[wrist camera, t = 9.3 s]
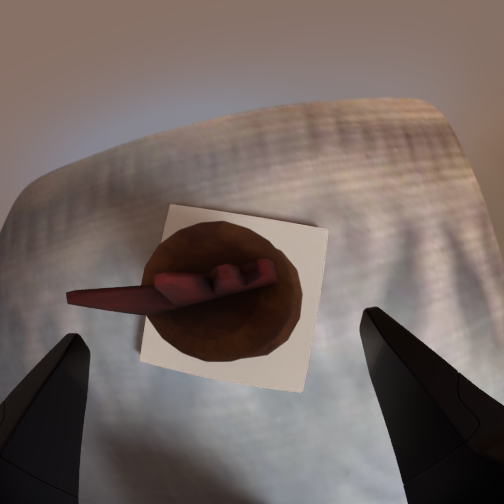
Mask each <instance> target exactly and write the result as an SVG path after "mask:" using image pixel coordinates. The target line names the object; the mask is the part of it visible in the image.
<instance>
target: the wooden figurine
mask: <svg viewBox="0 0 504 504" xmlns="http://www.w3.org/2000/svg"><path fill="white" fill-rule="evenodd" d="M66 297H67V303H68V304H72V305H77V306H83V307H89V308H95V309H102V310H108V311H115V312H122V313H129V314H137V315H147V318H148V319H149V321H150V322H151V324H152V325H153V326H154V328H155V329H156V331H157V332H158V333H159V335H160V336H161V338H162V339H164V340H165V341H166V342H168V343H169V344H170V345H172V346H173V347H174V348H176V349H177V350H178V351H180V352H181V353H183V354H186V355H188V356H191V357H194V358H197V359H199V360H202V361H205V362H232V361H235V360H239V359H246V358H252V357H259V356H266V355H269V354H270V353H271V352H273V351H274V350H276V349H277V348H278V347H280V346H281V345H282V344H284V343H285V342H286V341H288V339H289V337H290V336H291V334H292V332H293V330H294V329H295V327H296V325H297V323H298V321H299V320H300V315H301V306H302V297H303V293H302V288H301V284H300V279H299V275H298V271H297V269H296V267H295V266H294V265H293V264H292V263H291V261H290V260H289V259H288V258H287V257H286V255H285V254H284V253H283V252H282V251H281V250H279V249H277V248H275V247H274V245H273V244H272V243H271V242H270V241H269V240H267V239H266V238H264V237H262V236H261V235H259V234H257V233H256V232H254V231H253V230H251V229H249V228H246V227H243V226H240V225H236V224H233V223H230V222H226V221H213V222H200V223H197V224H195V225H192V226H189V227H186V228H183V229H180V230H178V231H177V232H175V233H174V234H172V235H171V236H170V237H168V238H167V239H166V240H164V241H163V242H162V243H161V244H159V245H158V247H157V249H156V250H155V252H154V253H153V255H152V256H151V258H150V260H149V261H148V263H147V264H146V266H145V269H144V274H143V279H142V283H141V286H128V287H115V288H100V289H86V290H75V291H70V292H67V293H66Z"/></svg>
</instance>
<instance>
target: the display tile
mask: <svg viewBox="0 0 504 504" xmlns="http://www.w3.org/2000/svg"><path fill="white" fill-rule="evenodd" d="M213 221H226V222H230V223H233V224H236V225H240V226H243V227H246V228H249V229H251V230H253V231H254V232H256V233H257V234H259V235H261V236H262V237H264V238H266V239H267V240H269V241H270V242H271V243H272V244H273V245H274V247H275V248H277V249H279V250H281V251H282V252H283V253H284V254H285V255H286V257H287V258H288V259H289V260H290V261H291V263H292V264H293V265H294V266H295V267H296V269H297V271H298V275H299V279H300V284H301V288H302V293H303V297H302V306H301V315H300V320H299V321H298V323H297V325H296V327H295V329H294V330H293V332H292V334H291V336H290V337H289V339H288V341H286V342H285V343H284V344H282V345H281V346H280V347H278V348H277V349H276V350H274V351H273V352H271V353H270V354H269V355H266V356H259V357H252V358H246V359H239V360H235V361H232V362H205V361H202V360H199V359H197V358H194V357H191V356H188V355H186V354H183V353H181V352H180V351H178V350H177V349H176V348H174V347H173V346H172V345H170V344H169V343H168V342H166V341H165V340H164V339H162V338H161V336H160V335H159V333H158V332H157V331H156V329H155V328H154V326H153V325H152V324H151V322H150V321H149V319H148V318H147V315H146V321H145V328H144V334H143V341H142V347H141V354H140V361H142V362H145V363H149V364H152V365H156V366H160V367H164V368H168V369H172V370H176V371H180V372H184V373H188V374H193V375H197V376H202V377H206V378H211V379H216V380H221V381H226V382H232V383H237V384H243V385H249V386H255V387H262V388H269V389H276V390H283V391H292V392H300V393H303V388H304V384H305V379H306V374H307V369H308V364H309V358H310V353H311V348H312V342H313V337H314V331H315V325H316V319H317V313H318V306H319V300H320V293H321V286H322V279H323V272H324V265H325V257H326V249H327V240H328V232H329V229H323V228H318V227H312V226H307V225H301V224H295V223H290V222H284V221H278V220H272V219H266V218H260V217H254V216H248V215H241V214H235V213H229V212H222V211H216V210H209V209H202V208H195V207H188V206H181V205H174V204H170V207H169V211H168V215H167V219H166V223H165V227H164V231H163V236H162V240H161V243H162V242H163V241H164V240H166V239H167V238H168V237H170V236H171V235H172V234H174V233H175V232H177V231H178V230H180V229H183V228H186V227H189V226H192V225H195V224H197V223H200V222H213Z"/></svg>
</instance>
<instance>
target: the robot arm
mask: <svg viewBox="0 0 504 504" xmlns="http://www.w3.org/2000/svg"><path fill="white" fill-rule="evenodd" d="M360 336H361V340H362V344H363V348H364V353H365V357H366V361H367V366H368V370H369V374H370V378H371V381H372V384H373V387H374V390H375V393H376V395H377V398H378V401H379V404H380V408H381V411H382V414H383V417H384V420H385V423H386V426H387V429H388V433H389V436H390V439H391V443H392V446H393V449H394V453H395V456H396V460H397V463H398V467H399V470H400V474H401V478H402V482H403V484H404V485H403V486H404V490H405V494H406V498H407V502H408V504H504V405H502V404H501V403H499V402H498V401H496V400H495V399H493V398H492V397H490V396H489V395H488V394H486V393H485V392H484V391H482V390H481V389H479V388H478V387H477V386H476V385H474V384H473V383H472V382H471V381H469V380H468V379H467V378H466V377H464V376H463V375H462V374H461V373H458V371H457V370H456V369H455V368H453V367H452V366H451V365H450V364H449V363H447V362H446V361H445V360H444V359H443V358H441V357H440V356H439V355H438V354H436V353H435V352H434V351H433V350H432V349H430V348H429V347H428V346H427V345H425V344H424V343H423V342H422V341H420V340H419V339H418V338H417V337H415V336H414V335H413V334H412V333H410V332H409V331H408V330H407V329H405V328H404V327H403V326H402V325H400V324H399V323H398V322H397V321H395V320H394V319H393V318H392V317H390V316H389V315H388V314H386V313H385V312H384V311H383V310H381V309H380V308H379V307H370V308H366V309H364V311H363V315H362V319H361V323H360ZM89 366H90V350H89V348H88V346H87V345H86V343H85V342H84V340H83V339H82V337H81V336H80V335H79V334H77V333H69V334H67V335H66V336H65V337H64V338H63V339H62V340H61V341H60V342H59V343H58V344H57V345H56V346H55V347H54V348H53V349H52V350H51V351H50V352H49V353H48V354H47V355H46V356H45V357H44V358H43V359H42V360H41V361H40V362H39V363H38V364H37V365H36V366H35V367H34V368H33V369H32V370H31V371H30V372H29V373H28V374H27V376H26V377H25V378H24V379H23V380H22V381H21V382H20V383H19V384H18V385H17V386H16V387H15V389H14V390H13V391H12V392H11V393H10V394H9V395H8V396H7V397H6V398H5V400H4V401H3V402H2V403H1V404H0V504H78V491H79V468H80V453H81V442H82V432H83V424H84V416H85V409H86V402H87V393H88V379H89Z"/></svg>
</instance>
